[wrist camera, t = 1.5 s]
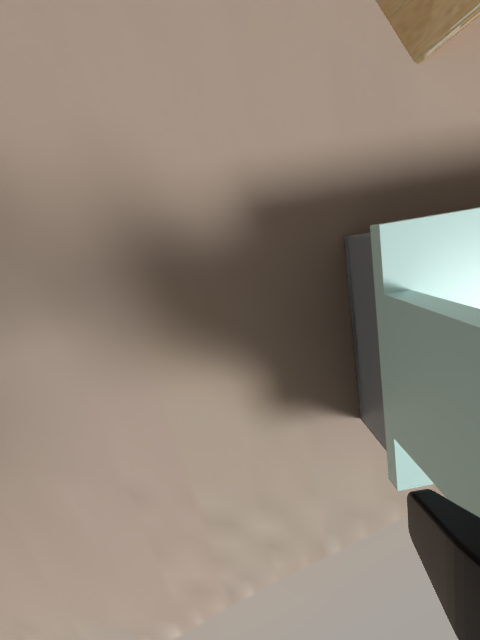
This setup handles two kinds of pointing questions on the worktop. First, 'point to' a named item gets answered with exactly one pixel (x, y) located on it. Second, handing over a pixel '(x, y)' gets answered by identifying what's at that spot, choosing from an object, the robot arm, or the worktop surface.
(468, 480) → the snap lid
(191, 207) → the worktop surface
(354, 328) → the parts tub
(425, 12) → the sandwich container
